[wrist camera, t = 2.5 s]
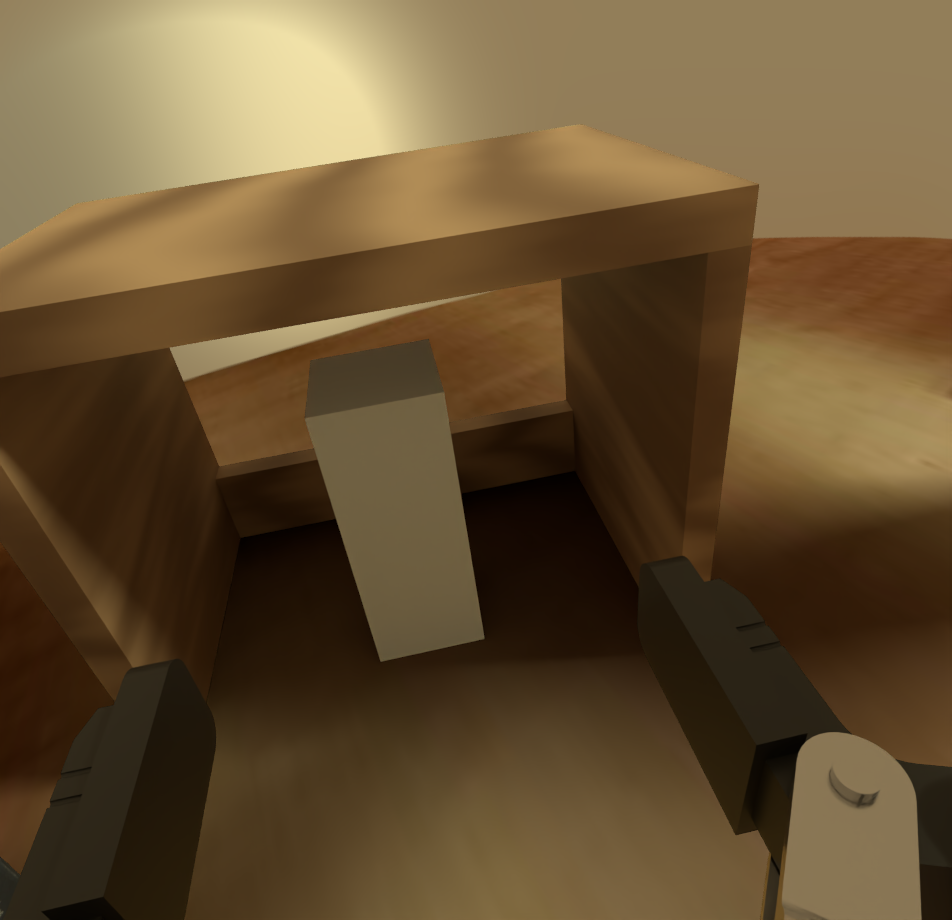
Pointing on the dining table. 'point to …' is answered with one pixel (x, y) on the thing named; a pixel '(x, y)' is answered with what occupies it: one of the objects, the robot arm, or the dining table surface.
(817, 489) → the dining table surface
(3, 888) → the box
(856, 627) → the dining table surface
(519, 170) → the shelf
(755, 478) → the dining table surface
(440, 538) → the block
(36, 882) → the robot arm
